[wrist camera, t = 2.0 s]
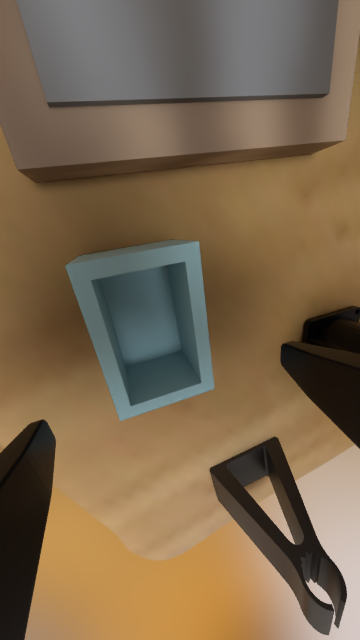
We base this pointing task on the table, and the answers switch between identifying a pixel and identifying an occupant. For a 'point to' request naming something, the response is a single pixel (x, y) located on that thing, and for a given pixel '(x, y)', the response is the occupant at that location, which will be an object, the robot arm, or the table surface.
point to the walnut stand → (172, 82)
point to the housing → (146, 322)
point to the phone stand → (282, 554)
